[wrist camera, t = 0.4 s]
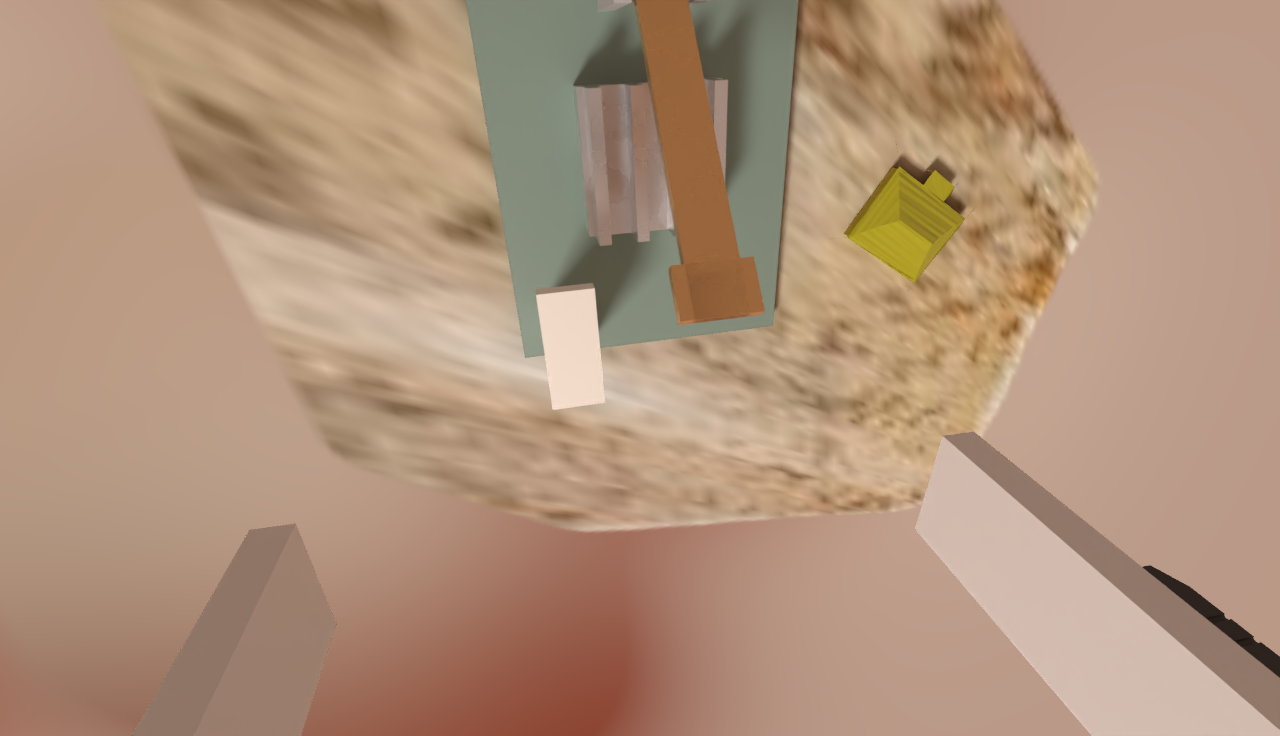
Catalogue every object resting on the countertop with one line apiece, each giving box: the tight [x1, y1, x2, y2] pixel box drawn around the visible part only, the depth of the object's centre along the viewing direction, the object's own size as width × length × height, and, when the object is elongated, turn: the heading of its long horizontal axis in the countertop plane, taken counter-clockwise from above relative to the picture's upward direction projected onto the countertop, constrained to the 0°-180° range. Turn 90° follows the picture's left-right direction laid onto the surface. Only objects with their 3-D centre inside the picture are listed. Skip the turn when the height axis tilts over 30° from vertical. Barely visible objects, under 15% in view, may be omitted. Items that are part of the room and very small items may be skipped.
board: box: [466, 0, 799, 358], centre depth 32 cm, size 25×18×7 cm
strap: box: [632, 0, 765, 325], centre depth 25 cm, size 16×4×1 cm
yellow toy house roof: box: [833, 144, 974, 291], centre depth 40 cm, size 10×9×3 cm
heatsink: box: [573, 77, 728, 246], centre depth 32 cm, size 8×8×4 cm
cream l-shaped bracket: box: [535, 283, 605, 410], centre depth 34 cm, size 7×3×8 cm, turn 3°
